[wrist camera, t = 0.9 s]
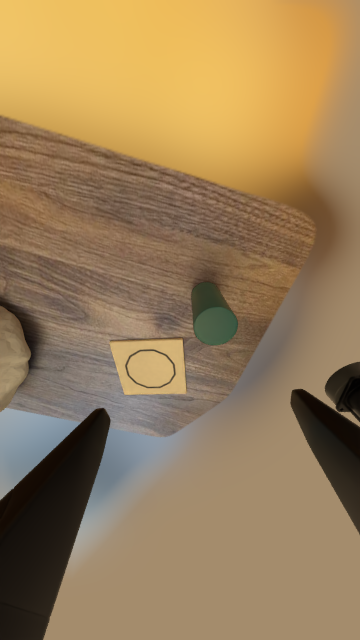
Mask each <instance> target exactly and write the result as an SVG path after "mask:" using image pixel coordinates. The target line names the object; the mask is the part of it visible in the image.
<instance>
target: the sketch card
mask: <svg viewBox="0 0 360 640" xmlns="http://www.w3.org/2000/svg"><path fill="white" fill-rule="evenodd" d="M109 343H110V347H111V350H112V353H113V357H114V360H115V364H116V367H117V370H118V374H119V377H120V381H121V384H122V387H123V391H124V394H125V395H130V394H182V393H186V378H185V365H184V351H183V338H172V339H147V340H122V341H110V342H109Z"/></svg>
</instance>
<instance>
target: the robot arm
mask: <svg viewBox="0 0 360 640" xmlns="http://www.w3.org/2000/svg"><path fill="white" fill-rule="evenodd" d="M291 407H292V409H293V411H294V414H295V415H296V418H297V420H298V422H299V425H300V427H301V429H302V431H303V433H304V436H305V438H306V440H307V442H308V444H309V446H310V448H311V450H312V452H313V453H314V455H315V457H316V459H317V460H318V462H319V464H320V466H321V467H322V469H323V471H324V473H325V474H326V476H327V478H328V480H329V481H330V483H331V485H332V487H333V488H334V490H335V492H336V494H337V495H338V497H339V499H340V501H341V502H342V504H343V506H344V508H345V509H346V511H347V513H348V515H349V516H350V518H351V520H352V522H353V523H354V525H355V527H356V529H357V530H358V532H359V534H360V427H359V426H358V425H356V424H355V423H353V422H352V421H350V420H349V419H347V418H345V417H344V416H343V415H341V414H339V413H338V412H337V411H339V412H351V413H352V414H353V415H354V416H355V418H356V419H357V420H358V421H359V422H360V376H352V377H350V378H349V380H348V382H347V384H346V386H345V388H344V390H343V393H342V395H341V397H340V399H339V401H338V403H337V405H336V409H337V411H335V410H334V409H332V408H331V407H329V406H327V405H326V404H324V403H323V402H322V401H320V400H319V399H317V398H316V397H314V396H313V395H311V394H310V393H308V392H307V391H305V390H303V389H295V390H292V394H291ZM109 427H110V417H109V415H108V413H107V412H106V410H105V409H104V408H98V409H95V410H94V411H93V412H92V413H91V414H90V415H89V416H88V417H87V418H86V419H85V420H84V421H83V422H82V423H81V424H80V425H78V426H77V427H76V428H75V429H74V430H73V431H72V432H71V433H70V434H69V435H68V436H67V437H66V438H65V439H64V440H63V441H62V442H61V443H60V444H59V445H58V446H57V447H56V448H54V449H53V450H52V451H51V452H50V453H49V454H48V455H47V456H46V457H45V458H44V459H43V460H42V461H41V462H40V463H39V464H38V465H37V466H36V467H35V468H34V469H33V470H32V471H31V472H29V473H28V474H27V475H26V476H25V477H24V478H23V479H22V480H21V481H20V482H19V483H18V484H17V485H16V486H15V487H14V489H12V490H11V491H10V492H9V493H7V494H6V495H5V497H3V498H2V499H1V500H0V640H43V638H44V635H45V632H46V629H47V626H48V623H49V619H50V618H49V617H50V616H51V613H52V610H53V607H54V604H55V601H56V598H57V595H58V592H59V588H60V586H61V582H62V579H63V576H64V573H65V570H66V567H67V564H68V561H69V558H70V555H71V552H72V549H73V546H74V543H75V539H76V536H77V533H78V530H79V527H80V524H81V521H82V518H83V515H84V512H85V509H86V506H87V503H88V500H89V497H90V493H91V490H92V487H93V484H94V481H95V478H96V475H97V472H98V469H99V466H100V463H101V459H102V456H103V452H104V448H105V444H106V439H107V435H108V430H109Z"/></svg>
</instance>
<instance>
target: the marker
mask: <svg viewBox="0 0 360 640" xmlns="http://www.w3.org/2000/svg"><path fill="white" fill-rule="evenodd" d="M191 300H192V313H193V327H194V333H195V335H196V337H197V338H198V339H199V340H200V341H201V342H203V343H205V344H208V345H221V344H224V343H226V342H228V341H229V340H230V339H231V338H232V337H233V336H234V335H235V333H236V331H237V327H238V322H237V318H236V316H235V315H234V313H233V311H232V310H231V308H230V307H229V305H228V303H227V302H226V300H225V299H224V297H223V295H222V294H221V292H220V291H219V289H218V288H217V286H216V285H214V284H213V283H210V282H203V283H200V284H198V285H197V286H196V287H195V288H194V289H193V291H192V294H191Z"/></svg>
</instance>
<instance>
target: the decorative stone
mask: <svg viewBox="0 0 360 640" xmlns="http://www.w3.org/2000/svg"><path fill="white" fill-rule="evenodd" d="M30 357H31V352H30V349H29V347H28V345H27V343H26V341H25V338H24V333H23V330H22V326H21V324H20V322H19V320H18V319H17V318H16V316H15V315H14V314H13V313H11V312H9V311H8V310H6V309H5V308H4V307H2V306H0V412H1V411H2V410H4V409H5V408H6V407H7V406H8V405H9V403H10V402H11V400H12V398H13V396H14V394H15V393H16V390H17V388H18V385H20V384H21V383H22V382H23V381H24V379H25V378H26V376H27V374H28V370H29V366H28V360H29V359H30Z"/></svg>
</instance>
